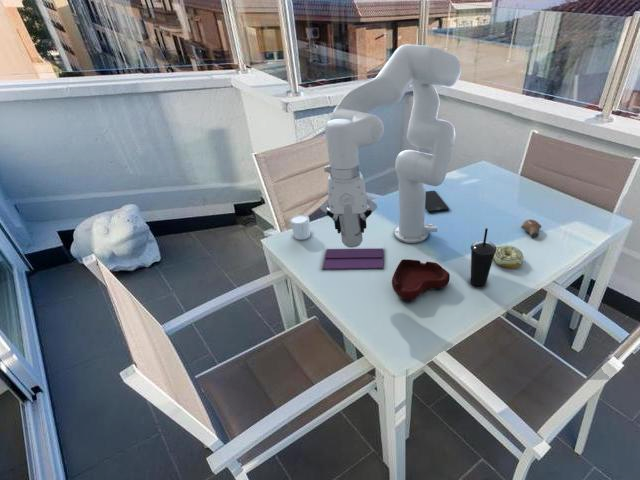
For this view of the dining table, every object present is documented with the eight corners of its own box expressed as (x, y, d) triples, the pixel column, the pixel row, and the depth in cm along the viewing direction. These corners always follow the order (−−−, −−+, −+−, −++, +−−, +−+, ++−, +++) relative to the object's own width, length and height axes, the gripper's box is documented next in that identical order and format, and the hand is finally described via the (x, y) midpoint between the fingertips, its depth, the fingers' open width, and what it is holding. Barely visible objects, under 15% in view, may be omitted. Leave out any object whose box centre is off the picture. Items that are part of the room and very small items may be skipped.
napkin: (383, 250, 137) (383, 248, 136) (382, 268, 128) (382, 266, 128) (326, 250, 136) (326, 249, 136) (322, 269, 128) (322, 267, 127)
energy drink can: (361, 248, 111) (357, 201, 102) (340, 248, 111) (334, 201, 102) (363, 237, 116) (360, 191, 106) (343, 237, 116) (338, 191, 106)
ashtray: (424, 262, 131) (424, 250, 128) (453, 288, 120) (454, 276, 117) (378, 279, 124) (377, 267, 120) (405, 308, 113) (405, 296, 110)
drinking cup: (491, 278, 125) (501, 224, 112) (487, 293, 119) (497, 238, 107) (468, 273, 127) (476, 220, 114) (463, 287, 121) (470, 232, 109)
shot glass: (307, 241, 141) (304, 224, 136) (289, 239, 142) (286, 222, 137) (314, 232, 146) (312, 215, 142) (297, 230, 147) (294, 213, 143)
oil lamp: (515, 234, 148) (535, 241, 144) (517, 226, 145) (537, 233, 141) (526, 222, 153) (545, 229, 149) (527, 214, 150) (547, 221, 146)
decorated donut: (495, 270, 128) (496, 261, 126) (487, 252, 137) (489, 243, 134) (525, 269, 129) (527, 260, 126) (516, 251, 137) (518, 242, 135)
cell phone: (429, 213, 158) (429, 211, 158) (416, 194, 172) (416, 192, 171) (449, 210, 161) (449, 208, 160) (434, 192, 174) (434, 190, 173)
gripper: (309, 177, 96) (319, 238, 107) (378, 176, 97) (381, 236, 108) (313, 165, 102) (322, 224, 113) (378, 164, 103) (381, 223, 114)
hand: (351, 230), depth 111 cm, fingers closed on energy drink can, 6 cm apart
